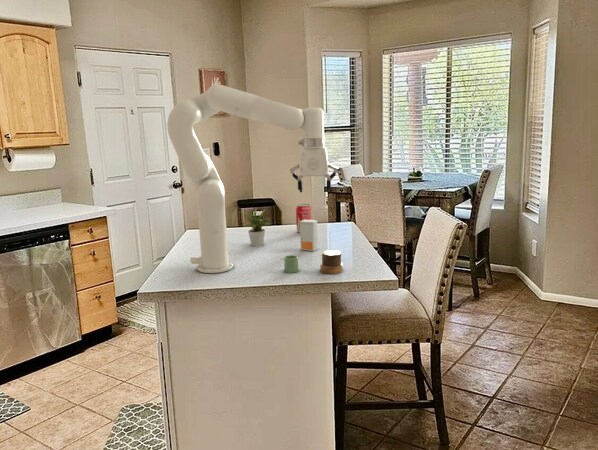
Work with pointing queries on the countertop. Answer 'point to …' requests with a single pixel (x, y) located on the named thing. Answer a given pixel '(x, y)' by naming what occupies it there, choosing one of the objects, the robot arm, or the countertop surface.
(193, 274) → the countertop surface
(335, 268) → the oak chip
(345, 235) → the countertop surface
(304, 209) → the soda can
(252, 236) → the house plant
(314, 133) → the robot arm
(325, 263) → the brown round canister
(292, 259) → the plastic cup
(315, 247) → the cosmetic box
